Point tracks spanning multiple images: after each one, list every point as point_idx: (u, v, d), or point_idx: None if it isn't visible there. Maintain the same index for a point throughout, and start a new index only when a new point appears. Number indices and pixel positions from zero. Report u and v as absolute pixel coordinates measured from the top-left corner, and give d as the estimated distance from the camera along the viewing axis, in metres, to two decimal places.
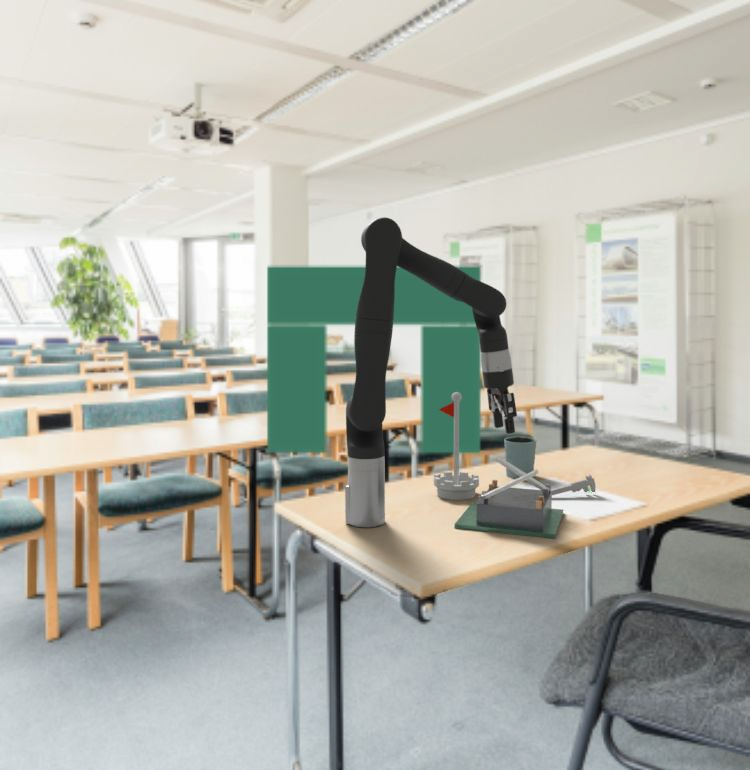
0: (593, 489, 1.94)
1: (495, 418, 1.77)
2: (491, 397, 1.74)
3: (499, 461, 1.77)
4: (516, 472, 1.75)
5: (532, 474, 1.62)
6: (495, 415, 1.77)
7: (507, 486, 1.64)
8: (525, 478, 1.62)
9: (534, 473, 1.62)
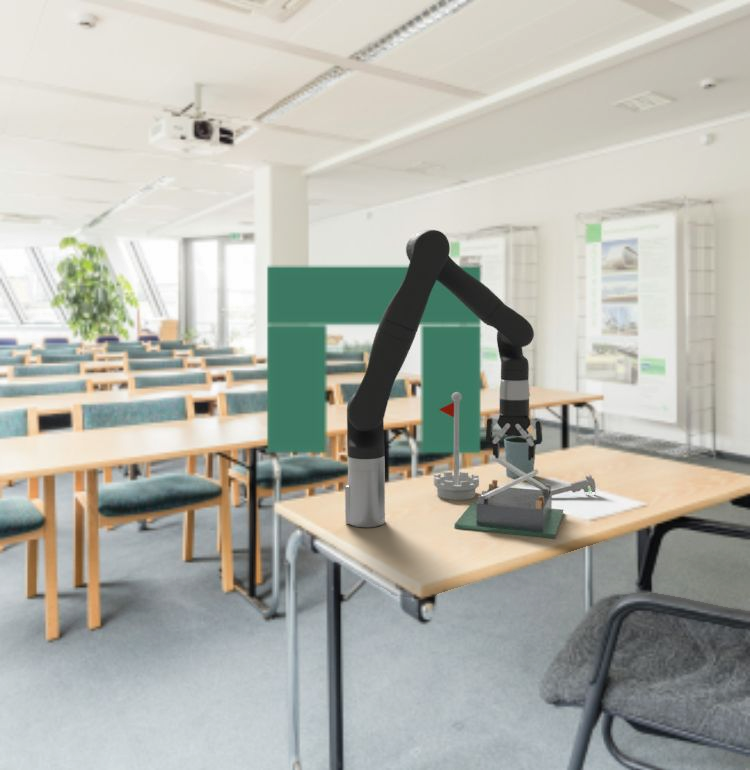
0: (593, 489, 1.94)
1: (498, 448, 1.77)
2: (507, 426, 1.74)
3: (499, 461, 1.77)
4: (516, 472, 1.75)
5: (532, 474, 1.62)
6: (498, 445, 1.77)
7: (507, 486, 1.64)
8: (525, 478, 1.62)
9: (534, 473, 1.62)
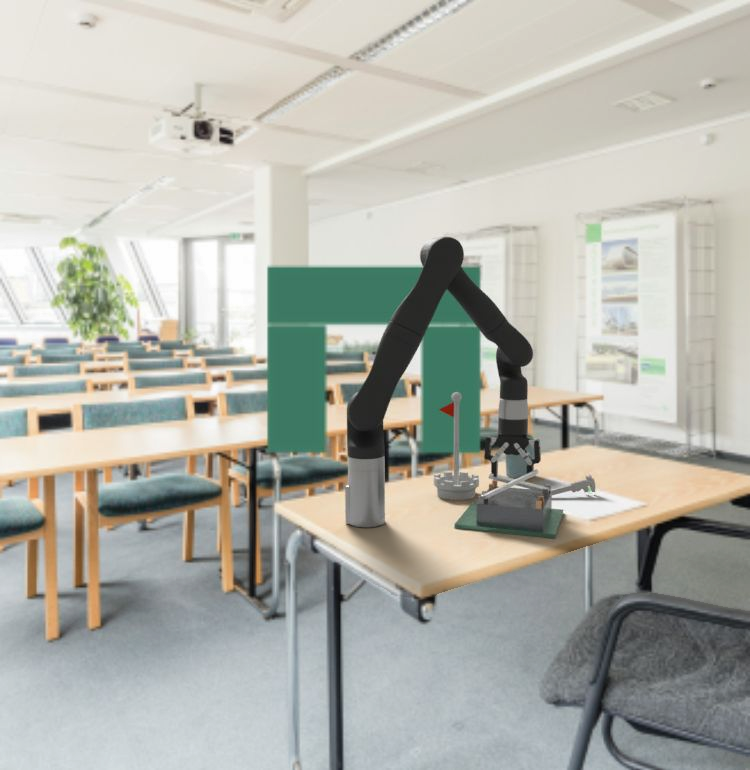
0: (593, 489, 1.94)
1: (496, 466, 1.78)
2: (505, 445, 1.75)
3: (493, 477, 1.78)
4: None
5: (532, 474, 1.62)
6: (496, 463, 1.78)
7: (507, 486, 1.64)
8: (525, 478, 1.62)
9: (534, 473, 1.62)
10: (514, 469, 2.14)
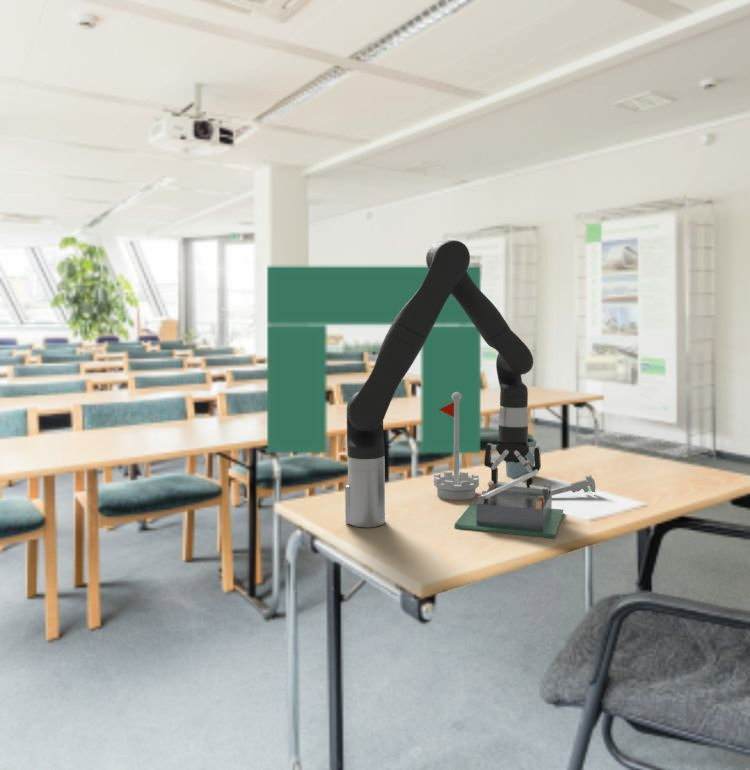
0: (593, 489, 1.94)
1: (496, 474, 1.78)
2: (505, 452, 1.75)
3: None
4: (511, 487, 1.76)
5: (532, 474, 1.62)
6: (496, 471, 1.78)
7: (507, 486, 1.64)
8: (525, 478, 1.62)
9: (534, 473, 1.62)
10: (514, 469, 2.14)
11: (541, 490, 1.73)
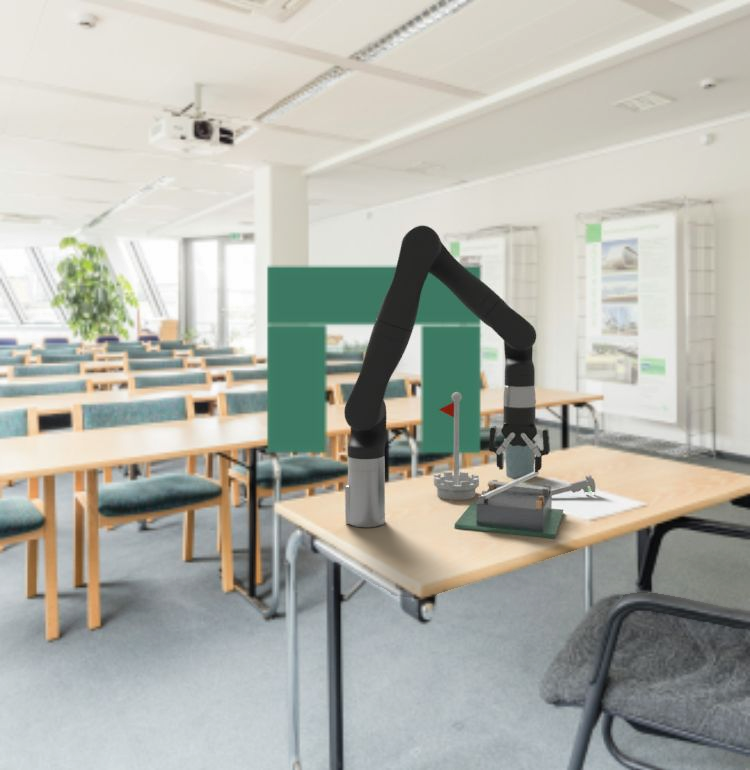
0: (593, 489, 1.94)
1: (502, 459, 1.65)
2: (511, 435, 1.62)
3: None
4: (511, 487, 1.76)
5: (532, 475, 1.62)
6: (502, 456, 1.65)
7: (507, 486, 1.64)
8: (525, 479, 1.62)
9: (534, 474, 1.62)
10: (514, 469, 2.14)
11: (541, 490, 1.73)
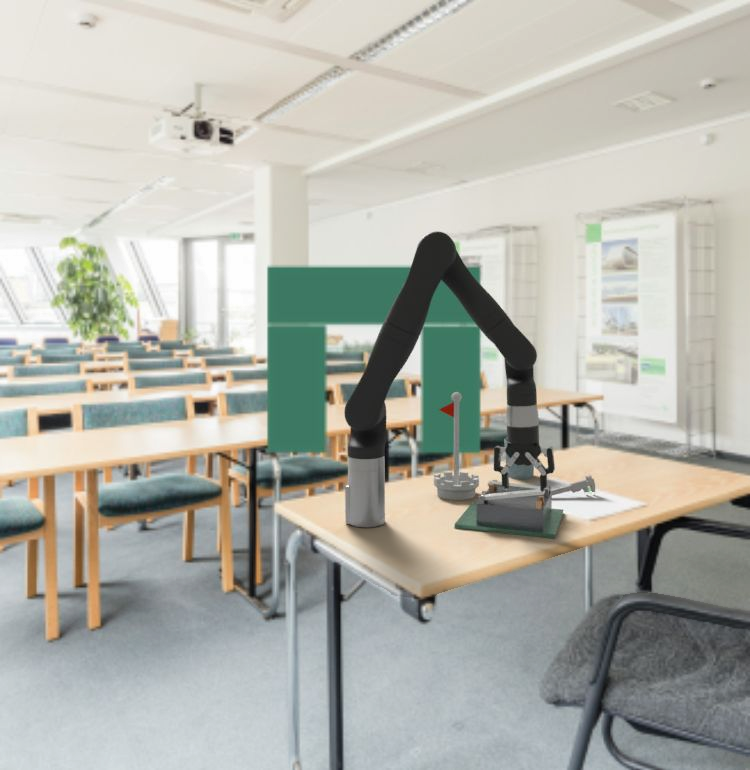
0: (593, 489, 1.94)
1: (507, 478, 1.65)
2: (516, 455, 1.62)
3: None
4: (511, 487, 1.76)
5: (539, 493, 1.62)
6: (507, 475, 1.65)
7: (510, 495, 1.64)
8: (531, 494, 1.62)
9: (541, 492, 1.61)
10: (514, 469, 2.14)
11: None
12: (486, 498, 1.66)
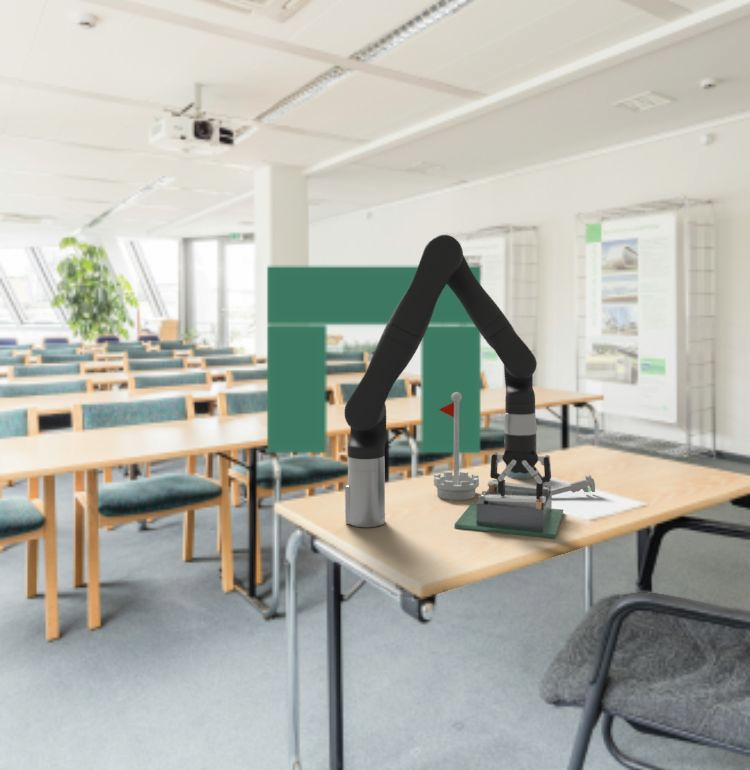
0: (593, 489, 1.94)
1: (503, 486, 1.65)
2: (513, 462, 1.63)
3: None
4: (511, 487, 1.76)
5: (540, 500, 1.62)
6: (503, 482, 1.65)
7: (511, 499, 1.64)
8: (531, 501, 1.63)
9: (542, 500, 1.62)
10: None
11: None
12: (486, 499, 1.66)
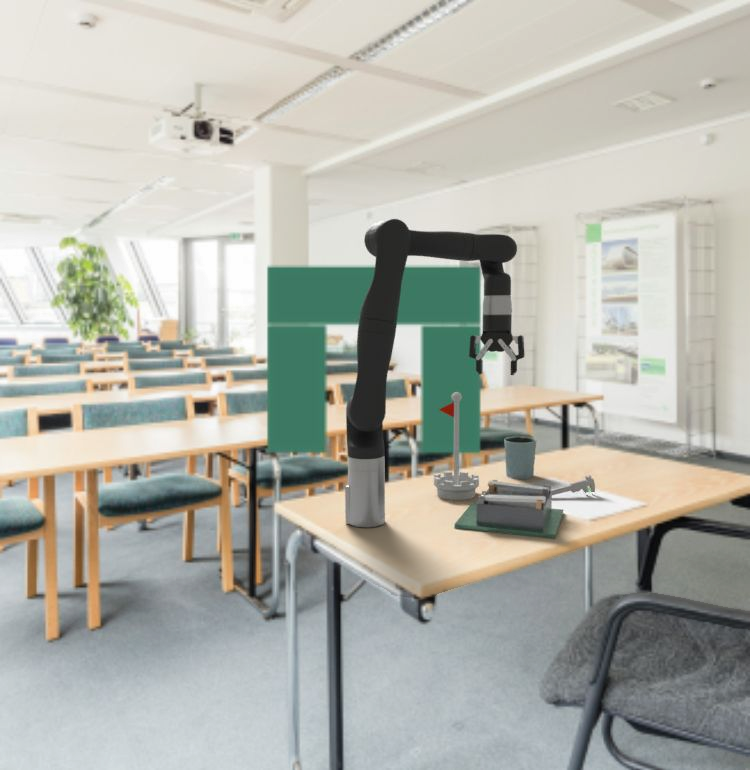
0: (593, 489, 1.94)
1: (481, 364, 1.80)
2: (490, 341, 1.78)
3: None
4: (511, 487, 1.76)
5: (540, 500, 1.62)
6: (481, 361, 1.80)
7: (511, 499, 1.64)
8: (531, 501, 1.63)
9: (542, 500, 1.62)
10: (514, 469, 2.14)
11: (541, 490, 1.73)
12: (486, 499, 1.66)
